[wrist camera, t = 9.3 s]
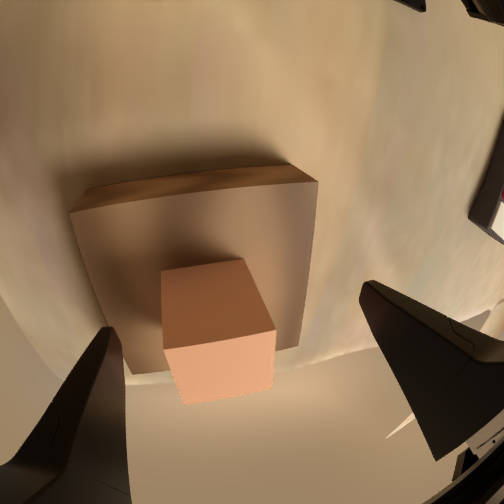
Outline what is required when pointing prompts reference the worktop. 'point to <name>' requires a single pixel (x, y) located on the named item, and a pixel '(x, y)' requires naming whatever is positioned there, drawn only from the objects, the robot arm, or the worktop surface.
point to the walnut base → (196, 245)
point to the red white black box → (492, 196)
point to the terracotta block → (216, 331)
